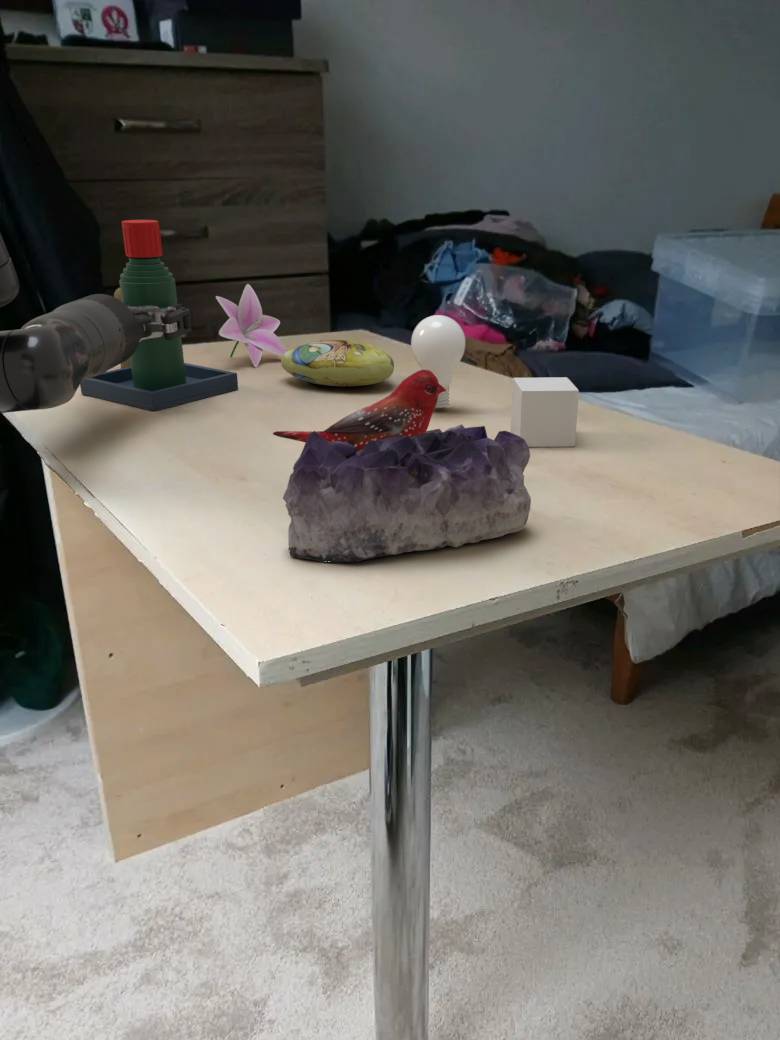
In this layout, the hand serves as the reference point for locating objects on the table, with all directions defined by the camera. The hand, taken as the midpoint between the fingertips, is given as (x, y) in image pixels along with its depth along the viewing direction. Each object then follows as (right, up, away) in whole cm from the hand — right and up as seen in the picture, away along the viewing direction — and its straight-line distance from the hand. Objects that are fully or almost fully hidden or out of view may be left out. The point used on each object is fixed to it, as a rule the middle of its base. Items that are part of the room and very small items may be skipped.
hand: (145, 311), depth 113 cm
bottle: (0, -8, +5) cm, 10 cm away
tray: (0, -8, +6) cm, 10 cm away
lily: (+8, 0, +23) cm, 24 cm away
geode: (+33, -30, -36) cm, 57 cm away
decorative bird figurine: (+29, -24, -25) cm, 45 cm away
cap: (0, +6, -2) cm, 6 cm away
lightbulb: (+35, -12, 0) cm, 37 cm away
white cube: (+47, -17, -11) cm, 51 cm away
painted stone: (+22, -6, +11) cm, 25 cm away
